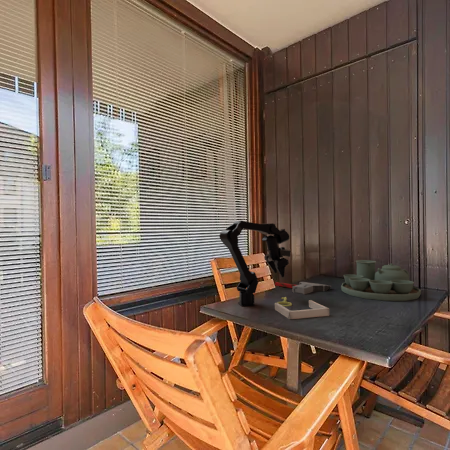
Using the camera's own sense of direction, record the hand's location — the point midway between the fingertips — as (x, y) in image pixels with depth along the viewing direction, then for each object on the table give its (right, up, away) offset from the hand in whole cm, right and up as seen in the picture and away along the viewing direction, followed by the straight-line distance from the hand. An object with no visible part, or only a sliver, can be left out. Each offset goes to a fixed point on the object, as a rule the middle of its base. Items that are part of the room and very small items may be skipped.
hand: (279, 274), depth 162 cm
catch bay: (+5, -12, -26) cm, 29 cm away
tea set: (+58, -12, +11) cm, 60 cm away
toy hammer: (+16, -13, +24) cm, 32 cm away
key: (+1, -13, -10) cm, 16 cm away
